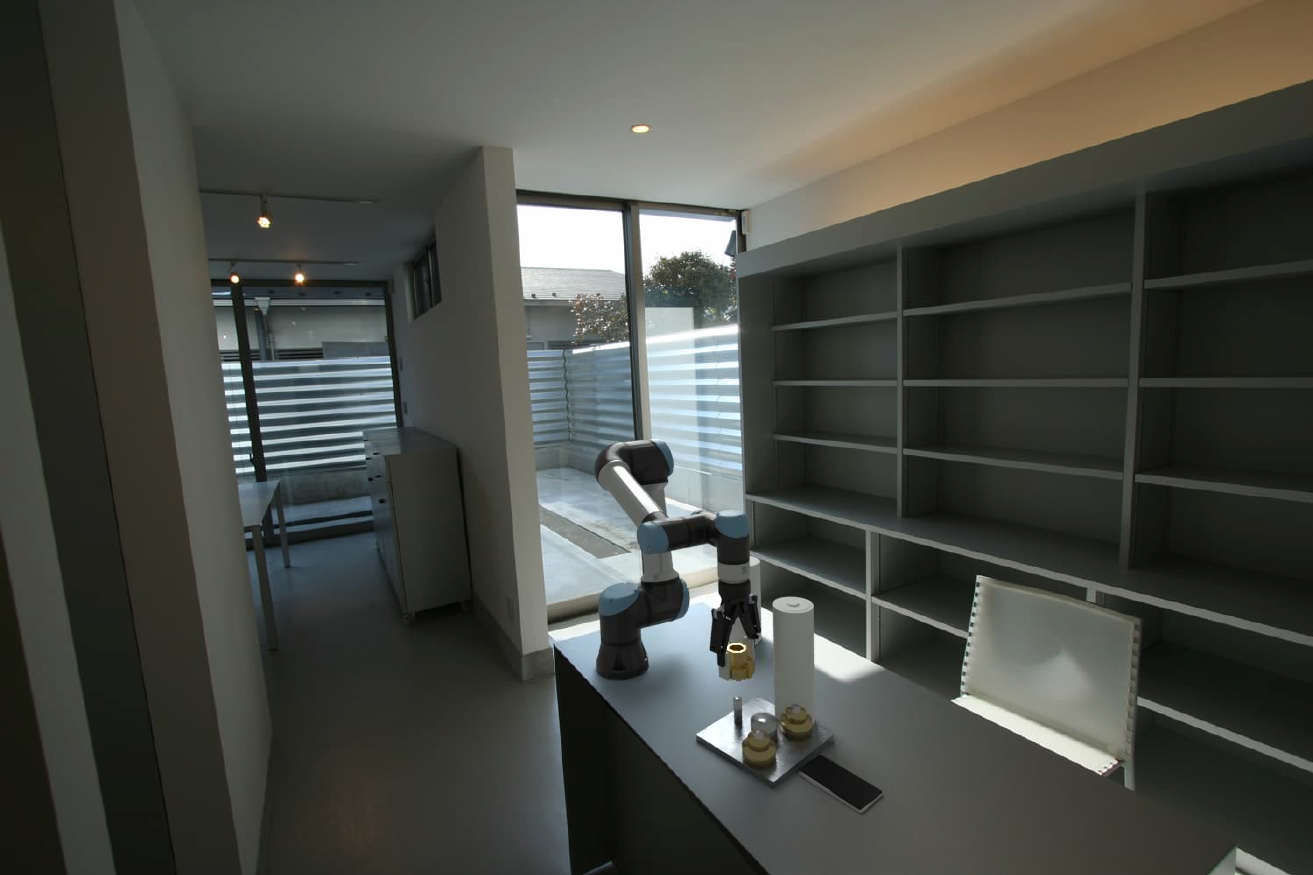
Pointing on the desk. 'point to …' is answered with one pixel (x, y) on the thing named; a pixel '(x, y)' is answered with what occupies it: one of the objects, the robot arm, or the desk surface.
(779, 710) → the cylinder container
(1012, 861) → the desk surface
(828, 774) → the smartphone
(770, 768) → the plate
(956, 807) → the desk surface
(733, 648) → the gear
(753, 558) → the tall pillar cylinder
